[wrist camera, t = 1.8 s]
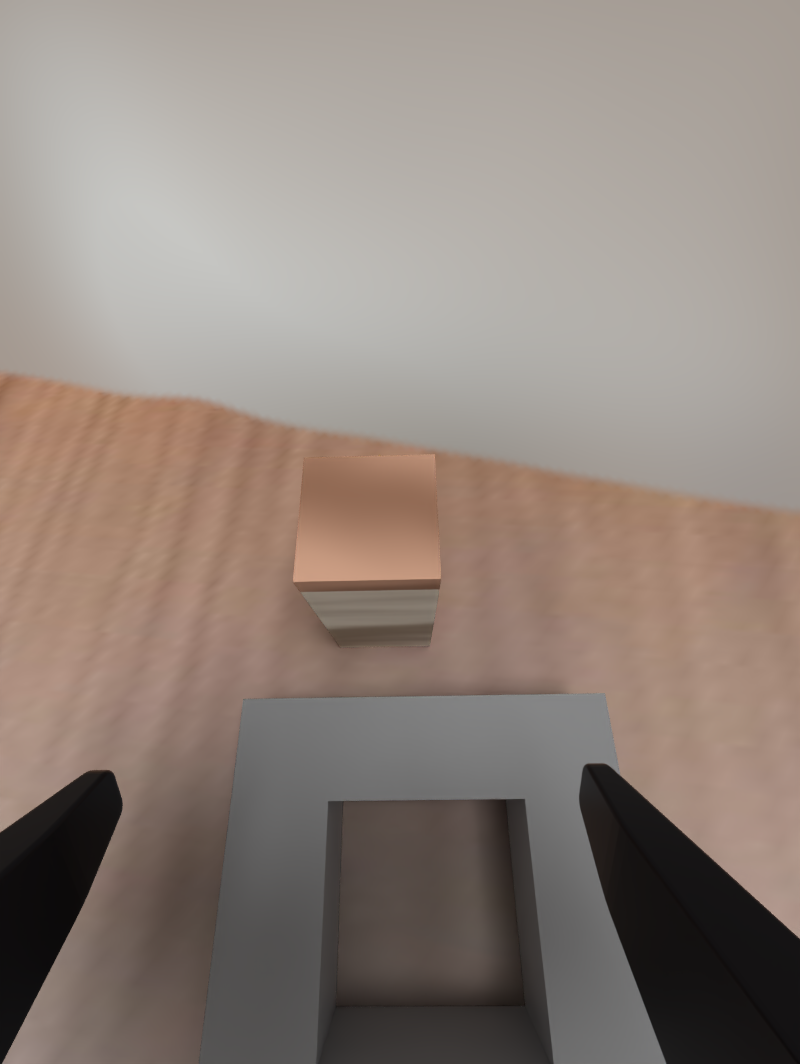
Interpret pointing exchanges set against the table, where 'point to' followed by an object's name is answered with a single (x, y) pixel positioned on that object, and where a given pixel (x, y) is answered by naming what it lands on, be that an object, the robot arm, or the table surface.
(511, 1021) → the socket block
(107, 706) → the table surface
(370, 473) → the peg
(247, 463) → the table surface
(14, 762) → the table surface
